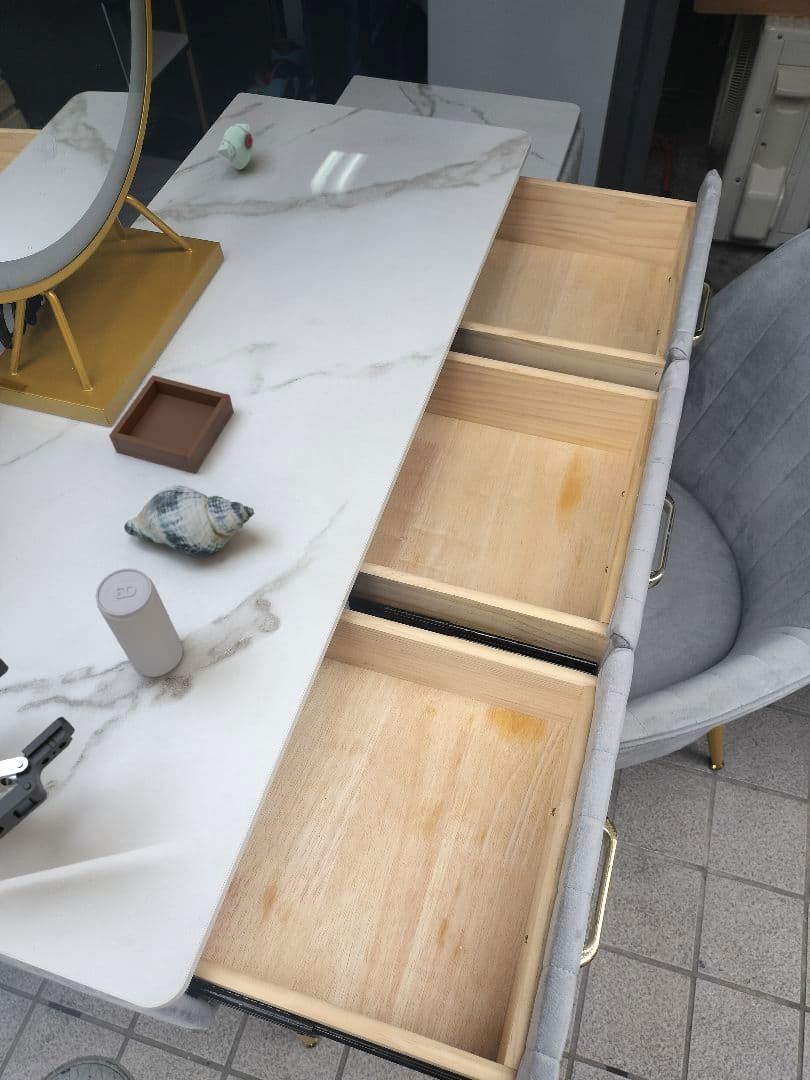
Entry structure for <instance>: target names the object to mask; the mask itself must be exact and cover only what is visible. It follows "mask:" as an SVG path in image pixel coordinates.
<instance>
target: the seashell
mask: <svg viewBox="0 0 810 1080" xmlns="http://www.w3.org/2000/svg"><path fill="white" fill-rule="evenodd" d="M254 515H255V511H254V508H253V507H249V506H248V505H243V504H242V503H241V502H239V501H231V500H229V499H227V498H224V497H222V496H218V495H213V496H207V495H206V494H205V493H202V492H200V491H198V490H196V489H194V488H191V487H189V486H186V485H185V486H184V485H176V484H175V485H170V486H166V487H164V488H162V489H161V490H159V491H157V492H156V493H155V494H154V495H153V496H152V497H150V499H149V500H148V502H146V503H145V505H144V506H143V508H142V509H141V511H140V512H139V513H138V514H137V516H136V517H132V518H131V519H128V520H127V521H126V522H125V524H124V526H123V527H124V532H125V533H127V535H129V536H132V537H139V538H141V539H143V540H146V541H148V542H150V543H154V544H166V545H167V546H169V547H171V548H173V549H174V550H176V551H178V552H180V553H182V554H185V555H189V556H194V557H207V556H211V555H213V554H216V553H218V552H220V551H221V550H222V549H223V548H224V547H225V546H226V544H227V543H228V542H229V541H230V540H231V539H232V536H233V535H235V534H237V533H238V532H240V531H241V530H243V527H244V524H246V523H248V521H249V520H250V519H251V518H252V517H253V516H254Z"/></svg>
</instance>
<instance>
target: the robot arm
mask: <svg viewBox="0 0 810 1080" xmlns="http://www.w3.org/2000/svg"><path fill="white" fill-rule="evenodd" d="M8 671H9V666H8V665H7V664H6V662H5V661H4V660H3V659H2V658H1V657H0V678H2V677H3V676H4V675H5V674H7V672H8ZM75 731H76V729H75V727H74V726H73V725H72V724H71V722H69V720H67V719H66V718H65V717H64V716H59V717H57V718H56V719H55V720H54V721H53V722H52V723H51V724H50V725H48V727H46V728H45V729H44V730H43V731H42V732H41V733H40V734H39V735H37V736H36V737H35V738H34V739H33V740H32V741H31V742H30V743H29V744H28V745H27V746H25V747H24V748H23V749H21V753H23V756H16V757H12V758H8V759H4V760H0V794H1V793H5V792H7V791H8V792H7V793H6V794H5V795H4V796H2V797H1V798H0V840H2V839H3V838H4V837H5V836H6V835H7V834H9V833H10V832H11V831H12V830H13V829H15V828H16V827H17V826H18V825H19V824H20V823H21V822H22V821H23V820H25V819H26V818H27V817H28V816H29V815H31V814H32V813H33V812H34V811H35V810H36V809H37V808H38V807H40V806H41V805H42V804H44V802H45V801H46V800H47V798H48V791H47V790H46V789H45V788H44V785H43V782H42V780H41V775H42V772H43V771H44V769H45V768H46V767H47V766H49V765H50V764H51V763H52V762H53V761H54V760H55V759H56V758H57V757H58V756H59V755H60V754H62V753H63V751H64V750H66V749H67V748H68V747H69V746H70V745H71V743H72V741H73V739H74V738H73V737H72V736H73V735H74V733H75ZM10 788H12V789H11V790H9V789H10Z"/></svg>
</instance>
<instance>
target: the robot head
mask: <svg viewBox="0 0 810 1080" xmlns="http://www.w3.org/2000/svg"><path fill="white" fill-rule="evenodd" d="M253 147H254V140H253V135H252V129H251V127H250V124H248V123H238V122H237V123H235V124H233V125H231V126H230V127H228V128H227V129H226V131H225V132H224V133H223V137H222V141H221V143H220V145H219V147H218V148H217V150H216V152H217V153H218V154H220V155H222V156H223V157H225V158H226V159H227V160H228V161H229V162H228V163H230V165H231V166H232V167H233V168H234V169H237V170H239V171H241V170H242V169H245V167H246V166H248V164H249V162H250V160H251V158H252V154H253Z"/></svg>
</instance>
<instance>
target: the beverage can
mask: <svg viewBox="0 0 810 1080" xmlns="http://www.w3.org/2000/svg"><path fill="white" fill-rule="evenodd" d="M95 600H96V606H97V609H98V610H99V612H100V614H101V616H102V617H103V619H104V621H105V622H106V624H107V626H108V627H109V629H110V631H111V632H112V634H113V635H114V637H115V640H117V642H118V644H119V646H120V648H121V649H122V650H123V652H124V654H125V655H126V657H127V659H128V661H129V662H130V664H131V666H132V667H133V669H134V670H135V671H136V672H137V673H138V674H140V675H142V676H144V677H150V678H157V677H160V676H163V675H166V674H168V673H169V672H171V671H172V670H173V669H174V668H176V667H177V666H178V665H179V663H180V662H181V660H182V657H183V653H184V652H183V651H184V648H183V644H182V641H181V639H180V637H179V635H178V633H177V630H176V629H175V626H174V624H173V622H172V619H171V617H170V615H169V614H168V611H167V609H166V607H165V605H164V602H163V601H162V598H161V596H160V594H159V592H158V590H157V588H156V585H155V583H154V582H153V581H152V579H151V578H150V577H149V576H148V575H147V573H145V572H143V571H142V570H140V569H137V568H131V567H128V568H127V567H126V568H120V569H117V570H113V571H112V572H111V573H108V574H107V575H106V576H105V577H103V579H102V580H101V581H100V583H99V584H98V586H97V588H96V590H95Z"/></svg>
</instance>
